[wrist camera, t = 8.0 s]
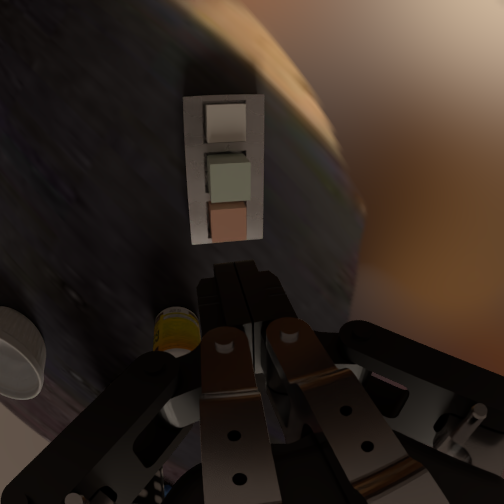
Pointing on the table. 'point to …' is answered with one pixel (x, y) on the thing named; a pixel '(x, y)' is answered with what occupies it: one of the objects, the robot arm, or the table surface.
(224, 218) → the key terracotta
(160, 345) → the supplement bottle
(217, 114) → the key ivory
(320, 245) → the table surface
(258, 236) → the keypad frame
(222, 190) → the key sage
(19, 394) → the ramekin
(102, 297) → the table surface
